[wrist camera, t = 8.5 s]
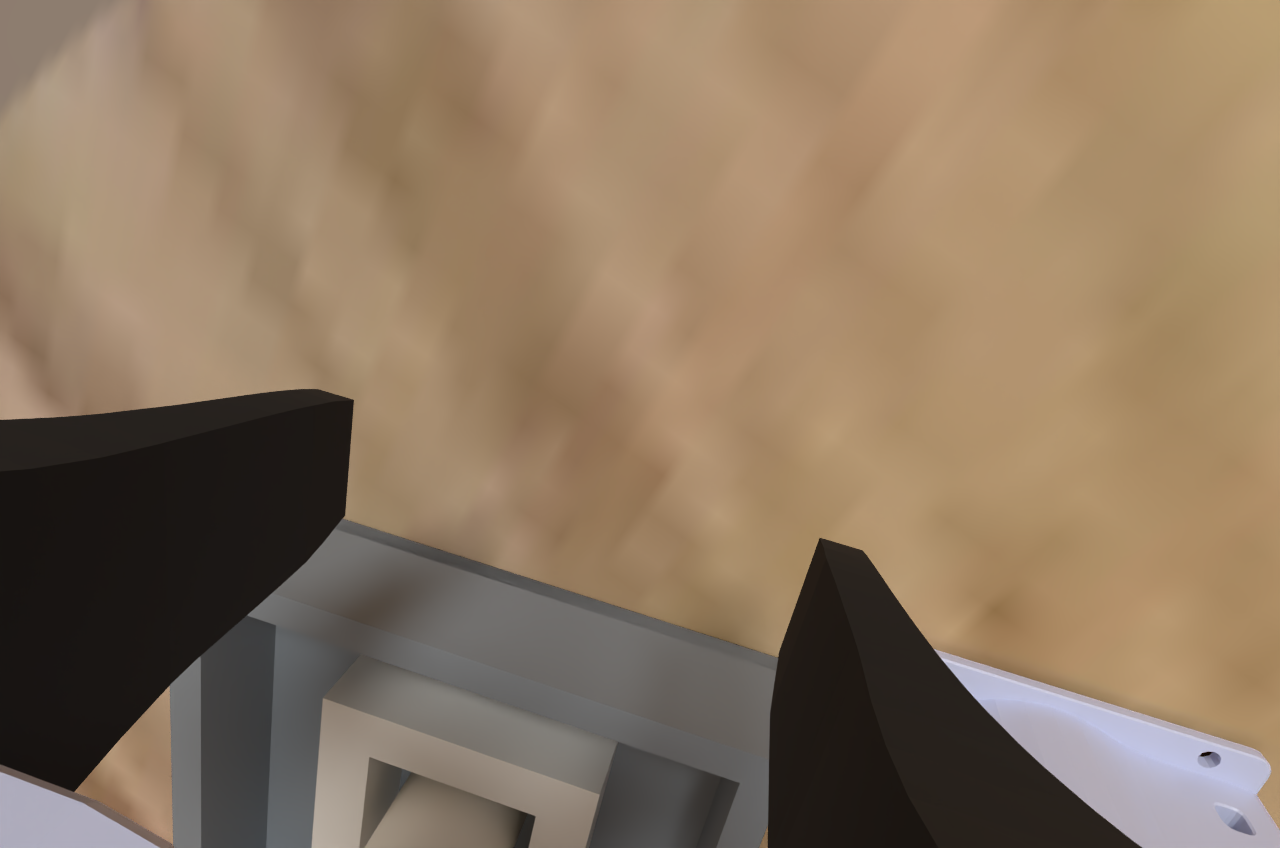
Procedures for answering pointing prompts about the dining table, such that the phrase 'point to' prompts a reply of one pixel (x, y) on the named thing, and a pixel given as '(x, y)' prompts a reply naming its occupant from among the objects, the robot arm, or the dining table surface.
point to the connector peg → (445, 819)
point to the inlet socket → (449, 756)
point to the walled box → (480, 663)
